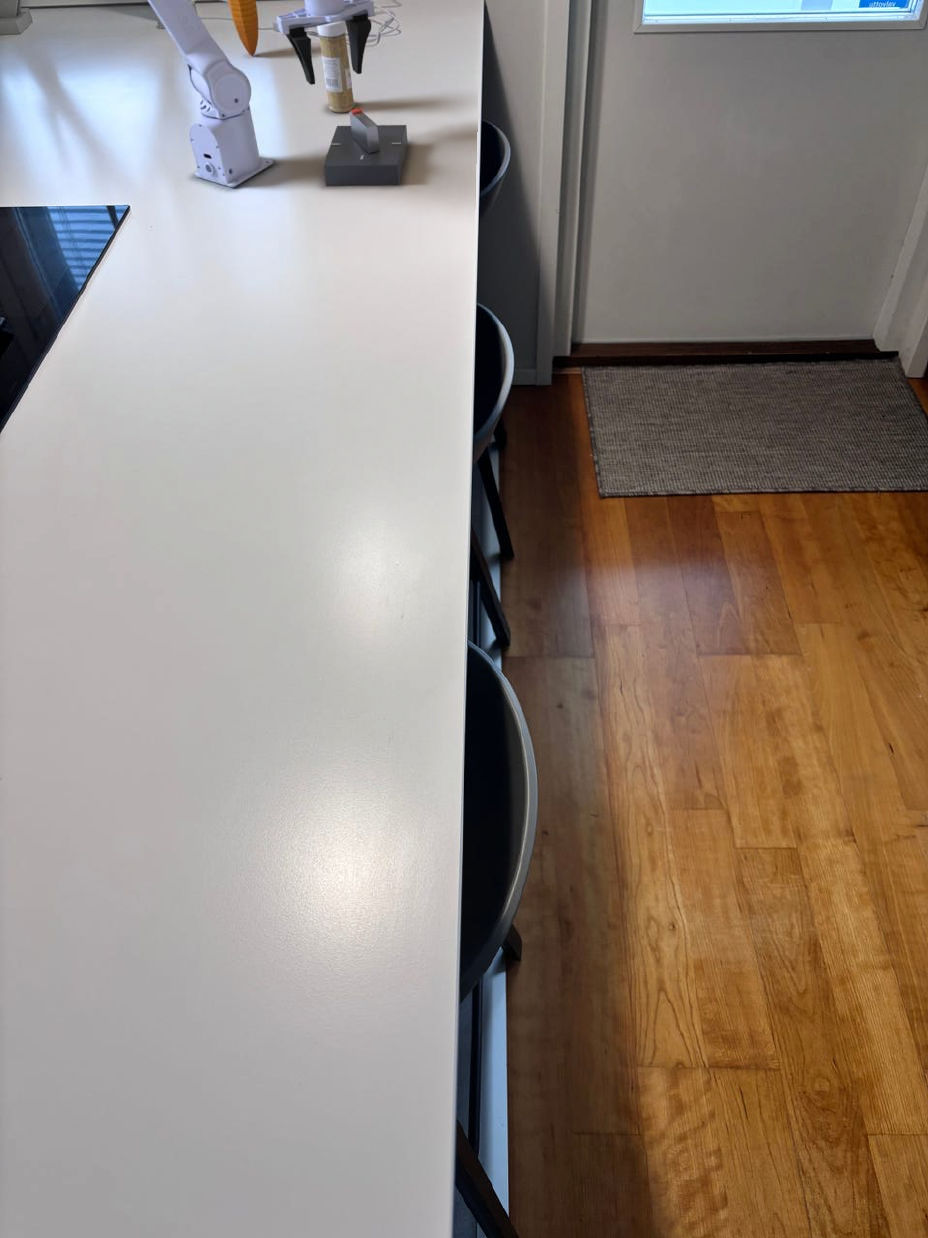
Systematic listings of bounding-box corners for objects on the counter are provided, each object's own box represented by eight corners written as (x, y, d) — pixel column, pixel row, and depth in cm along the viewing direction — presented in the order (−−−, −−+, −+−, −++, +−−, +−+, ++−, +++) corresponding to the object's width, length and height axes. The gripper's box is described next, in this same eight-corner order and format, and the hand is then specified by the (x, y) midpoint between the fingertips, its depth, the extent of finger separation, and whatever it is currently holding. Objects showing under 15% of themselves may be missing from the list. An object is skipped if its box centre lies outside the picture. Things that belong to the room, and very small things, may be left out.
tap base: (398, 185, 142) (396, 163, 139) (326, 185, 143) (322, 164, 140) (407, 144, 151) (406, 123, 148) (339, 144, 152) (336, 124, 149)
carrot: (263, 60, 177) (246, -35, 165) (237, 61, 177) (218, -34, 165) (267, 50, 180) (251, -44, 168) (241, 51, 180) (223, -43, 169)
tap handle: (380, 150, 143) (377, 122, 140) (369, 153, 142) (365, 125, 139) (362, 134, 147) (359, 107, 143) (352, 137, 146) (348, 109, 143)
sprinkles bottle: (360, 107, 161) (350, 17, 151) (339, 115, 159) (328, 25, 149) (343, 100, 163) (332, 11, 153) (322, 108, 161) (310, 18, 151)
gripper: (282, -10, 131) (298, 95, 141) (378, -29, 135) (387, 75, 145) (265, -24, 135) (282, 79, 145) (359, -42, 139) (369, 60, 149)
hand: (334, 76), depth 146 cm, fingers open, 7 cm apart
